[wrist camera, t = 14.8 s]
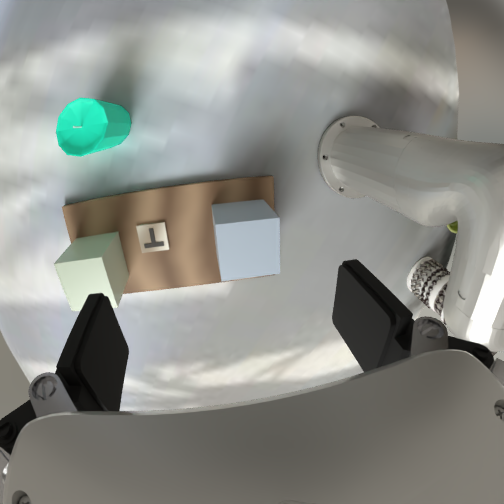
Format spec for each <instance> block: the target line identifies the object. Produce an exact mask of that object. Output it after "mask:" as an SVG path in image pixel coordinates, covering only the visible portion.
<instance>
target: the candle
mask: <svg viewBox="0 0 504 504" xmlns="http://www.w3.org/2000/svg"><path fill="white" fill-rule="evenodd" d="M130 127H131V120H130V116H129V113H128V112H127V111H126V110H125V109H124V108H123V107H122V106H120V105H116V104H112V103H108V102H104V101H100V100H96V99H89V98H79V99H77V100H75V101H73V102H71V103H69V104H67V106H66V107H65V109H64V110H63V111H62V113H61V114H60V116H59V117H58V123H57V129H56V134H57V139H58V144H59V146H60V147H61V148H62V150H63V151H64V152H65V153H66V154H67V155H72V156H80V157H81V156H84V155H87V154H91V153H94V152H98V151H101V150H105V149H108V148H111V147H114V146H116V145H119V144H121V143H122V142H123V141H124V139H125V138H126V137H127V136H128V135H129V131H130Z"/></svg>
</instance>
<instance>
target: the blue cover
mask: <svg viewBox="0 0 504 504" xmlns="http://www.w3.org/2000/svg"><path fill="white" fill-rule="evenodd" d="M212 216H213V225H214V235H215V244H216V253H217V259H218V264H219V270H220V276H221V281H230V280H237V279H245V278H252V277H259V276H266V275H273V274H280V218H279V216H278V215H277V214H276V213H275V212H274V211H273V210H272V209H271V207H270V206H269V205H268V204H267V203H266V202H265V201H264V200H263V199H261V200H251V201H240V202H231V203H221V204H213V205H212Z"/></svg>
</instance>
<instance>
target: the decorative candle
mask: <svg viewBox="0 0 504 504" xmlns="http://www.w3.org/2000/svg"><path fill="white" fill-rule="evenodd" d="M449 276H450V272H449V271H447V269H446V268H445V269H444V268H443V267H442V265H441V264H438V262H437V261H435V260H433V259H432V258H430V257H424V258H421V259H420V260H419V261H417V262H416V263H415V265H414V266H413V267H412V268H411V270H410V272H409V274H408V278H407V287H408V288H409V290H410V291H412V293H414V292H415V294H414V295H416V297H418V296H419V298H418V299H421V301H422V302H423V303H424V304H425V305H426V306H428V308H431V309H433V310H434V311H435V312H437V313H438V314H439V315H440V316H441V320H442V321H443V322H444V324H445V325H446V322H445V319H444V314H443V304H444V298H445V293H446V288H447V284H448V280H449ZM491 353H492V354H493V356H494V355H495V354H496V353H497V352H492V351H491Z"/></svg>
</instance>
